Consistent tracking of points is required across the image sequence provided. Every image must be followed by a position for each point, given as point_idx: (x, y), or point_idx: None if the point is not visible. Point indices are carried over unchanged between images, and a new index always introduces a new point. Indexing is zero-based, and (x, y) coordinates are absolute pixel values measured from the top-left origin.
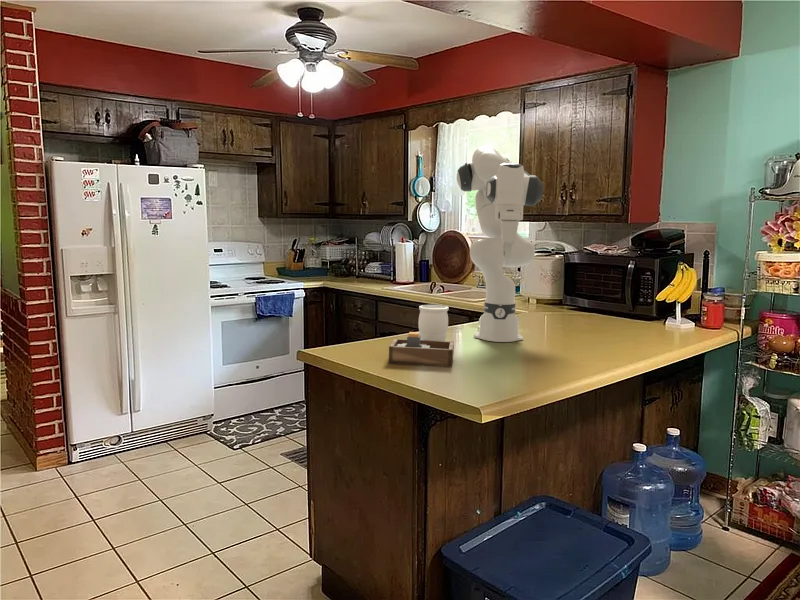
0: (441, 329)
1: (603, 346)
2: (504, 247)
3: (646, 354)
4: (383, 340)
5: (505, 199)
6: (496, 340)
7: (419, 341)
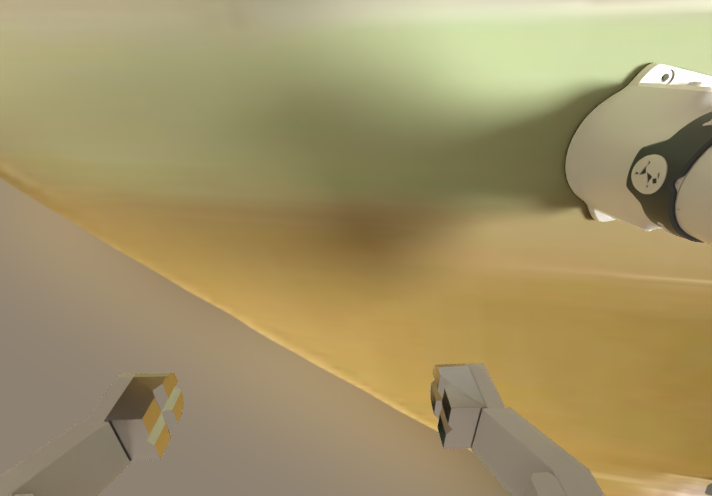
0: None
1: (518, 372)
2: (526, 458)
3: None
4: None
5: None
6: (573, 143)
7: None
